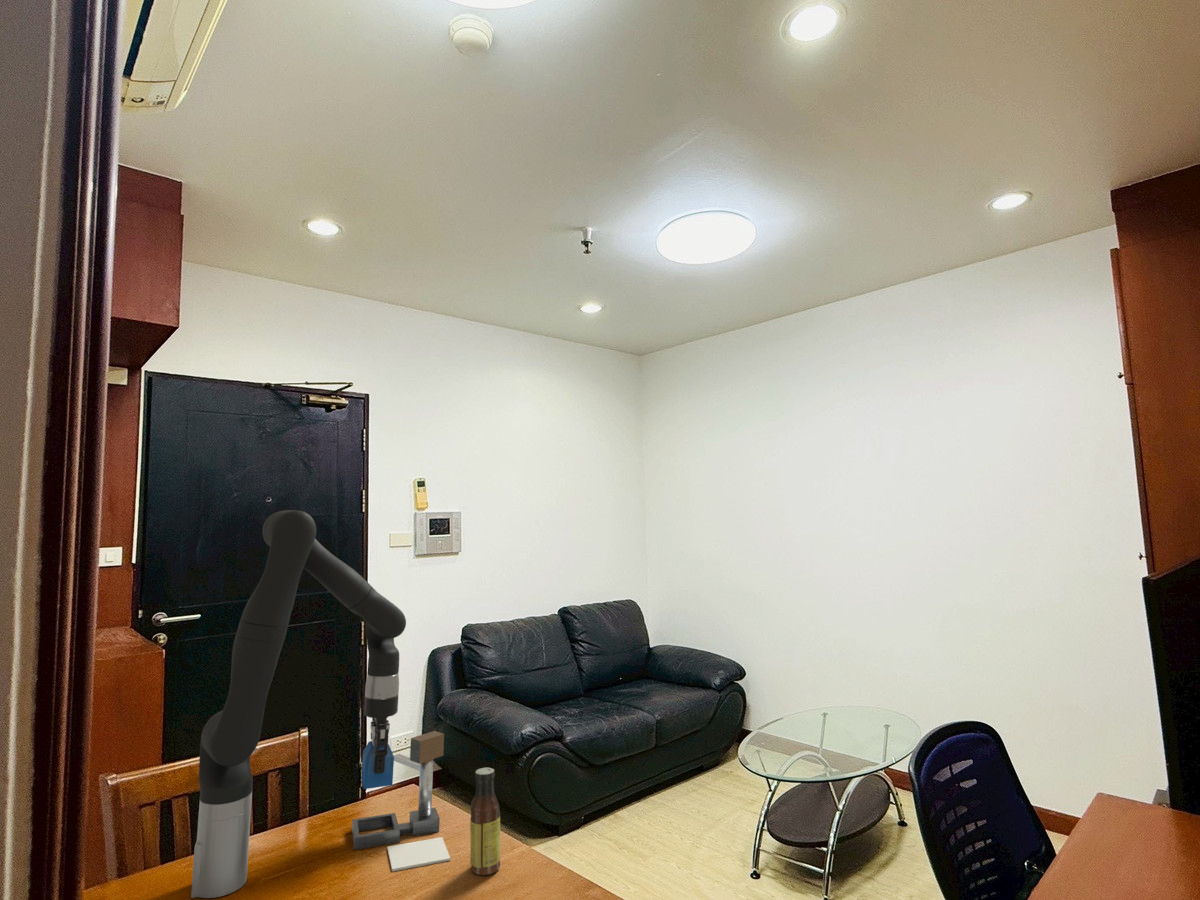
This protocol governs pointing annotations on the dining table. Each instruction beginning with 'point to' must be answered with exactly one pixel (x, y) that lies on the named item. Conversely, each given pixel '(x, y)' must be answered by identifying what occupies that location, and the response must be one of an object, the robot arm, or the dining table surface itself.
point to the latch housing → (392, 828)
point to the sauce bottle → (485, 825)
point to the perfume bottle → (368, 773)
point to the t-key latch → (424, 765)
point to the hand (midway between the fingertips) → (377, 767)
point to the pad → (417, 854)
